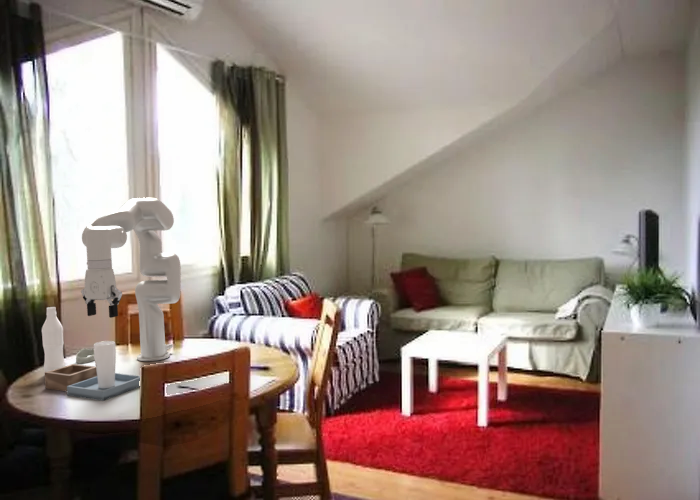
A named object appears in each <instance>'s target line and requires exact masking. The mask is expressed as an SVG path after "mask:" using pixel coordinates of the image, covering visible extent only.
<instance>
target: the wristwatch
mask: <svg viewBox="0 0 700 500" xmlns="http://www.w3.org/2000/svg"><path fill="white" fill-rule="evenodd" d="M75 357H76V358H75V363H76V364H85V363H90V362H95V358H94V348H93V349H92V348H90V349H89V348H85V347H84V348H82V349H80V350H79V351H78V352H77V353H76V355H75Z"/></svg>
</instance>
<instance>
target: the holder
mask: <svg viewBox="0 0 700 500" xmlns="http://www.w3.org/2000/svg"><path fill="white" fill-rule="evenodd" d="M96 376H97V372H96V365H95V366H93V365H86V364H85V365H84V364H79V363H72V364H69V365H65V367H61V368H58V369H55V370H51V371H48V372H45V371H44V382H45V383H44V385H45V386H44V387H45V389H48V390H54V391H62V392H67V386H69V385H72V384H75V383H78V382H81V381H84V380H87V379H90V378H93V377H96Z"/></svg>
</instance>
